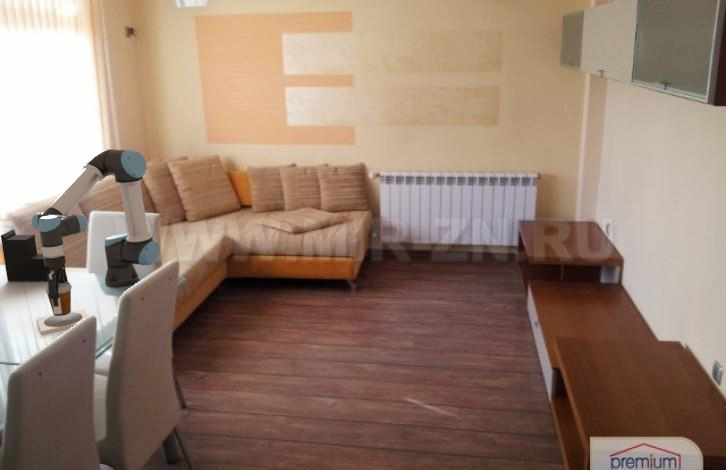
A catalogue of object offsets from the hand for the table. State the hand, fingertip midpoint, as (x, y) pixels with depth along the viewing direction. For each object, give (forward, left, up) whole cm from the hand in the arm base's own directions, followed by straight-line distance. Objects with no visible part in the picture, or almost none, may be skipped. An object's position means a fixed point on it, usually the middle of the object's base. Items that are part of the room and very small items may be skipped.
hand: (61, 309), depth 240 cm
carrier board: (0, 0, -6) cm, 6 cm away
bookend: (+3, -67, -6) cm, 67 cm away
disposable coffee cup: (0, 0, -2) cm, 2 cm away
